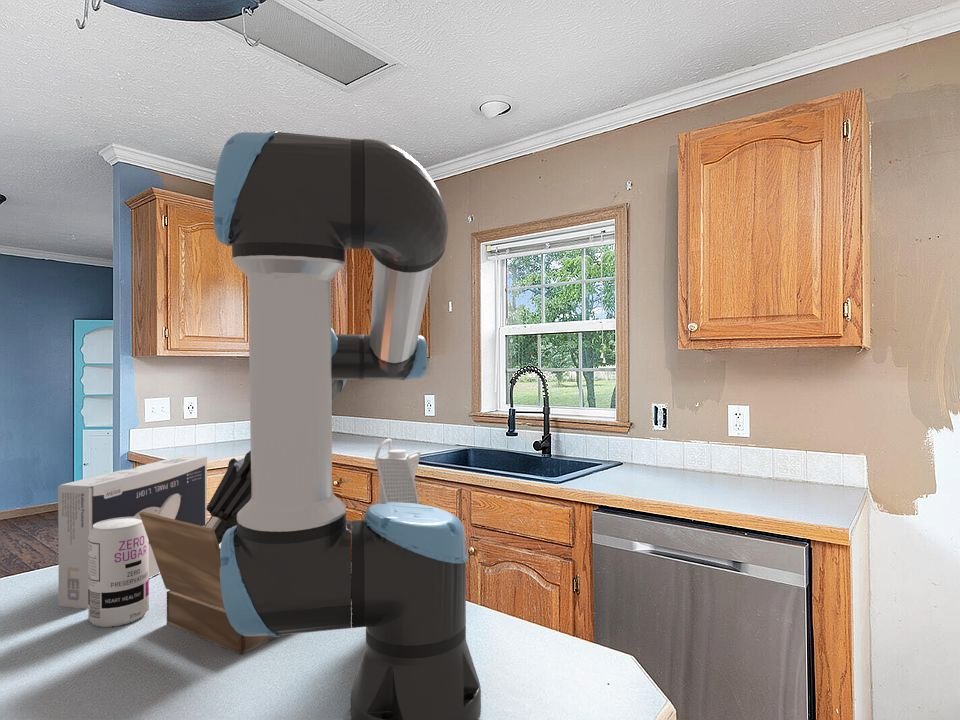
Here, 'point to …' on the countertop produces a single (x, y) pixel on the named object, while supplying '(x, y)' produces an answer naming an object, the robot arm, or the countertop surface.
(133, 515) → the packaging
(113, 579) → the supplement can
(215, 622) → the box
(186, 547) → the lid
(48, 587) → the countertop surface
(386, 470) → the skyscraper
